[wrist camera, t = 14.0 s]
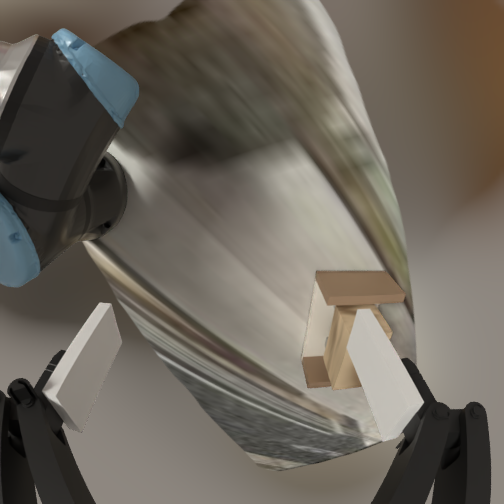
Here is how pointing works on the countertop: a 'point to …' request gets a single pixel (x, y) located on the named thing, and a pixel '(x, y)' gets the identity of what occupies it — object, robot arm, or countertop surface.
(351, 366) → the shelf block
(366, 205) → the countertop surface
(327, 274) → the peg stand
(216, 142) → the countertop surface
